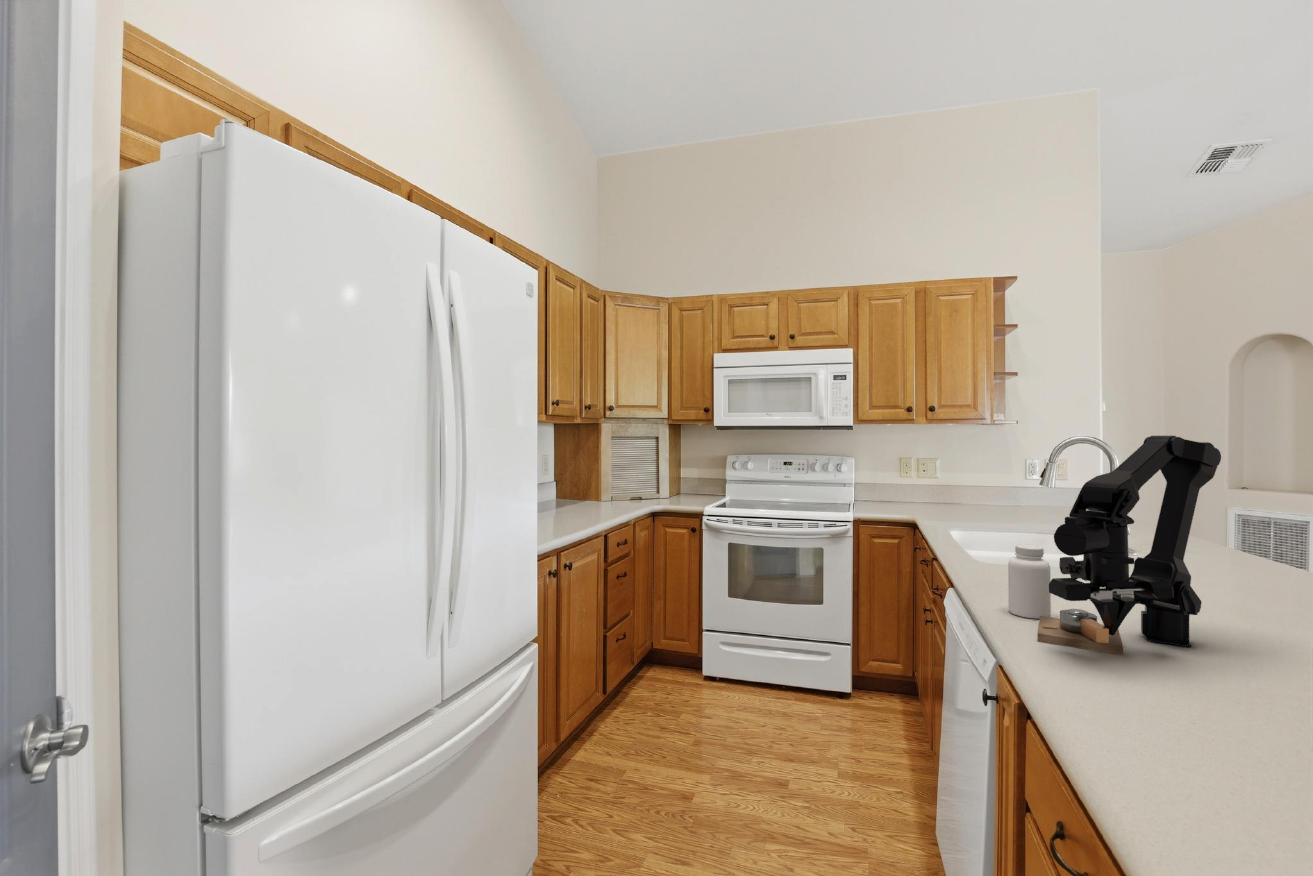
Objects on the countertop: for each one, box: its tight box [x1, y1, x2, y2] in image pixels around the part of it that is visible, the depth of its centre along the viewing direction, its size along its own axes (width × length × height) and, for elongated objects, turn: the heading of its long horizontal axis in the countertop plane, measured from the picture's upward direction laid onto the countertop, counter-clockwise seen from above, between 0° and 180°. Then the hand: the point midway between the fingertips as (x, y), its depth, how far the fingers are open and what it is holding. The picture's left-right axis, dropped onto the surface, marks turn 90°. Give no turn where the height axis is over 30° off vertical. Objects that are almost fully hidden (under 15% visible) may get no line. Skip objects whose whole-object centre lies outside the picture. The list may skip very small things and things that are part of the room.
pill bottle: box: [1007, 544, 1052, 620], centre depth 131 cm, size 8×8×15 cm
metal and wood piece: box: [1059, 608, 1109, 643], centre depth 113 cm, size 12×6×3 cm, turn 170°
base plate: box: [1037, 616, 1124, 656], centre depth 116 cm, size 13×13×2 cm
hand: (1110, 634), depth 108 cm, fingers closed
